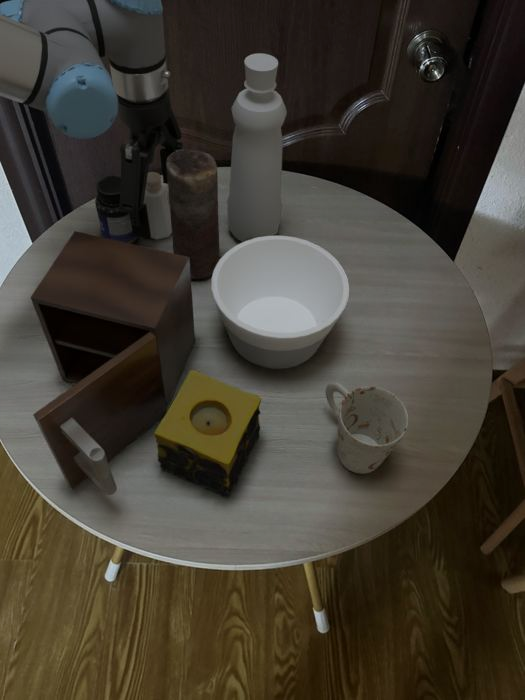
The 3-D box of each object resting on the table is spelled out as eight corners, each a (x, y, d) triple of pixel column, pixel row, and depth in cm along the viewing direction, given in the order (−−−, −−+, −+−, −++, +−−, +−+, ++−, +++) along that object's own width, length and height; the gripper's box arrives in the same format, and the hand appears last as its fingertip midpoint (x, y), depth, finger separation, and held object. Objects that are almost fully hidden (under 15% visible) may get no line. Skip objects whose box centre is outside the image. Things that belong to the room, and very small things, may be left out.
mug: (356, 494, 79) (371, 458, 71) (296, 423, 84) (303, 383, 76) (403, 460, 82) (423, 422, 74) (342, 394, 88) (354, 352, 80)
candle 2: (193, 407, 85) (190, 366, 77) (261, 434, 83) (264, 394, 75) (157, 469, 79) (149, 431, 71) (229, 500, 77) (229, 464, 69)
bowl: (309, 273, 101) (317, 223, 93) (359, 364, 91) (373, 317, 82) (196, 300, 97) (193, 250, 88) (235, 399, 86) (236, 353, 78)
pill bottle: (102, 226, 106) (91, 173, 97) (138, 223, 106) (130, 170, 98) (103, 251, 102) (91, 199, 93) (140, 248, 103) (132, 195, 94)
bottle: (281, 214, 109) (296, 47, 85) (278, 250, 104) (293, 83, 80) (229, 210, 110) (230, 42, 85) (224, 246, 104) (223, 77, 80)
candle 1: (184, 244, 104) (176, 141, 88) (225, 254, 103) (225, 151, 87) (168, 275, 99) (156, 173, 83) (211, 286, 99) (208, 185, 83)
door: (198, 443, 82) (193, 368, 68) (103, 524, 75) (75, 460, 61) (162, 409, 85) (149, 331, 71) (67, 484, 78) (32, 414, 64)
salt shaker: (140, 239, 104) (132, 187, 95) (144, 217, 107) (137, 165, 99) (172, 240, 104) (167, 188, 95) (175, 219, 108) (171, 166, 99)
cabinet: (167, 407, 85) (155, 328, 71) (62, 380, 87) (30, 297, 73) (195, 341, 92) (189, 256, 78) (97, 317, 94) (74, 230, 80)
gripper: (132, 147, 78) (151, 265, 95) (196, 49, 92) (202, 167, 109) (77, 136, 78) (105, 255, 96) (149, 41, 93) (162, 159, 110)
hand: (157, 208), depth 102 cm, fingers open, 13 cm apart
